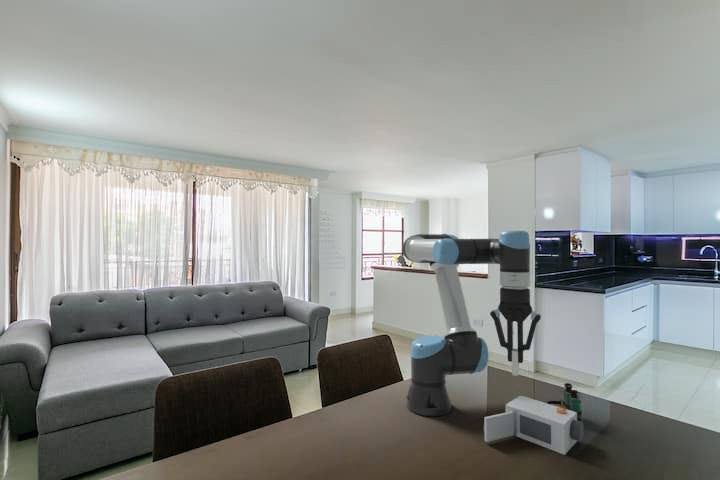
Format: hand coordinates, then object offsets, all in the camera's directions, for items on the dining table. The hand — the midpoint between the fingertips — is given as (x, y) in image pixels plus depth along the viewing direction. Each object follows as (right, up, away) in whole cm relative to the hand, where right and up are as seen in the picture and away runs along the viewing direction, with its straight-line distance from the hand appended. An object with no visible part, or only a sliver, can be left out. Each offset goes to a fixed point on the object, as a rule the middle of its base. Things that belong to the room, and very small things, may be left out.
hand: (515, 373), depth 98 cm
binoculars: (+22, -21, +16) cm, 35 cm away
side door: (-2, -20, +4) cm, 20 cm away
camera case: (+10, -20, +6) cm, 24 cm away
